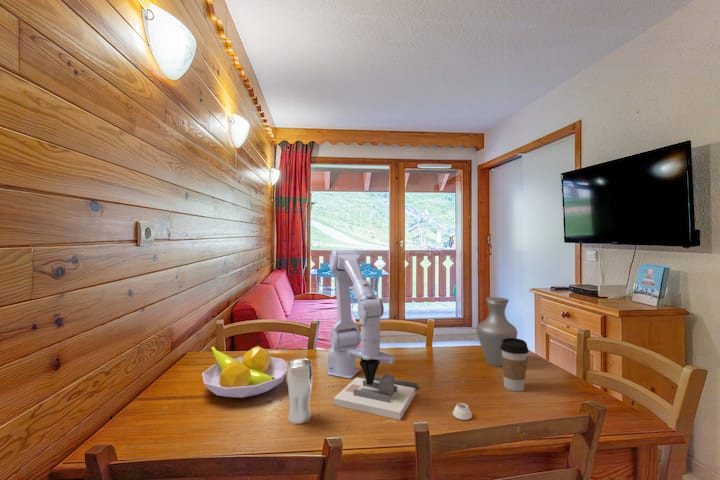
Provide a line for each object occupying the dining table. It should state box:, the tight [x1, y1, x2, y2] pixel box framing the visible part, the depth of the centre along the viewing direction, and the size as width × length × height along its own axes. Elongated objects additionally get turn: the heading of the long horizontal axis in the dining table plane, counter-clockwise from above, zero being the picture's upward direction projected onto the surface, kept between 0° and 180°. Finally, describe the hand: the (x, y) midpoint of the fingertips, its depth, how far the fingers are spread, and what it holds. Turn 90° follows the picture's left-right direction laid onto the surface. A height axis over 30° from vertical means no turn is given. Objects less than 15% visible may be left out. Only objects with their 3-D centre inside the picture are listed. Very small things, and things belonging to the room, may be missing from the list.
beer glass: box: [285, 357, 314, 425], centre depth 92 cm, size 7×7×15 cm
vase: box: [476, 296, 518, 368], centre depth 132 cm, size 14×14×25 cm
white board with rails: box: [333, 375, 419, 421], centre depth 105 cm, size 20×21×4 cm
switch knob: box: [379, 373, 395, 397], centre depth 101 cm, size 3×5×5 cm, turn 156°
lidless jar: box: [452, 402, 473, 421], centre depth 94 cm, size 5×3×5 cm
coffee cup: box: [500, 338, 530, 392], centre depth 111 cm, size 8×8×15 cm
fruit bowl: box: [201, 345, 288, 399], centre depth 111 cm, size 28×27×11 cm
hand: (370, 383), depth 103 cm, fingers closed
